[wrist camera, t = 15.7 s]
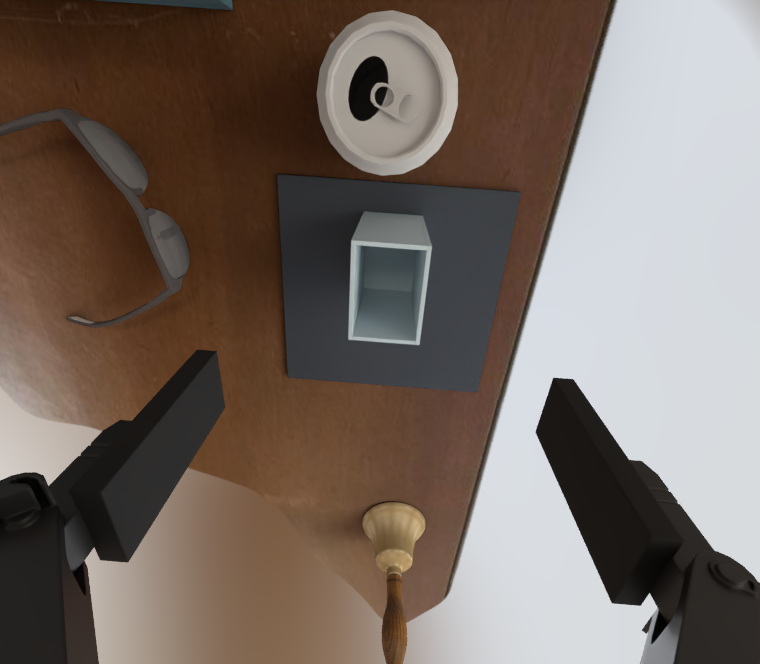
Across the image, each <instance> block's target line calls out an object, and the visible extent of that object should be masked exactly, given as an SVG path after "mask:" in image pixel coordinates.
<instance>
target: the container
mask: <svg viewBox="0 0 760 664" xmlns="http://www.w3.org/2000/svg"><path fill="white" fill-rule="evenodd" d="M431 250H432V245H431V242H430V238H429V235H428V232H427V228H426V225H425V221H424V218H423V216H421V215H408V214H394V213H381V212H367V211H364V213H363V215H362V217H361V219H360V222H359V224H358V226H357V228H356V231H355V233H354V235H353V237H352V240H351V261H350V293H349V326H348V340H359V341H372V342H385V343H398V344H411V345H419V344H420V336H421V329H422V321H423V313H424V305H425V297H426V289H427V281H428V274H429V266H430V258H431Z"/></svg>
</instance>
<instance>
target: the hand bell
mask: <svg viewBox="0 0 760 664" xmlns="http://www.w3.org/2000/svg"><path fill="white" fill-rule="evenodd" d="M362 525H363V529H364V531H365V533H366V535H367V536H368V537H369V538H370V539H371V540H372V542H373V544H374V549H375V559H376V564H377V566H378V567H379V568H380V569H381V570H382V571H384V572H387V607H386V610H385V614H384V618H383V625H382V645H383V651H384V655H385V659H386V663H387V664H403V660H404V656H405V652H406V646H407V628H406V620H405V615H404V612H403V608H402V603H401V583H402V578H401V573H402V572H404V571H406V570H408V569H409V568H410V566H411V565H412V560H413V549H414V545H415V542H416V540H418V539H419V538H420V536H421V535H422V533H423V532H424V529H425V519H424V517H423V515H422V514H421V512H420V511H419V510H417V509H416V508H414V507H412V506H411V505H408V504H404V503H400V502H386V503H382V504H378V505H376V506H374V507H372V508H371V509H370V510H369V511H367V512H366V514H365V515H364V517H363V521H362Z"/></svg>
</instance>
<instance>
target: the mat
mask: <svg viewBox="0 0 760 664" xmlns="http://www.w3.org/2000/svg"><path fill="white" fill-rule="evenodd" d="M277 184H278V202H279V221H280V240H281V259H282V278H283V297H284V316H285V334H286V353H287V372H288V378H300V379H313V380H325V381H338V382H351V383H364V384H376V385H389V386H402V387H415V388H428V389H440V390H453V391H466V392H477V391H478V386H479V382H480V377H481V372H482V368H483V363H484V359H485V354H486V350H487V345H488V341H489V336H490V331H491V327H492V322H493V318H494V313H495V309H496V304H497V300H498V295H499V290H500V286H501V281H502V277H503V272H504V268H505V263H506V258H507V254H508V249H509V245H510V240H511V236H512V231H513V227H514V222H515V217H516V213H517V208H518V204H519V199H520V195H521V192H518V191H504V190H491V189H477V188H464V187H450V186H436V185H423V184H409V183H396V182H382V181H369V180H355V179H342V178H328V177H314V176H301V175H287V174H277ZM364 211H367V212H381V213H394V214H408V215H421V216H423V218H424V221H425V225H426V228H427V232H428V235H429V238H430V242H431V245H432V250H431V258H430V266H429V274H428V281H427V289H426V297H425V305H424V313H423V321H422V329H421V336H420V344H419V345H411V344H398V343H385V342H372V341H359V340H348V326H349V293H350V261H351V240H352V237H353V235H354V233H355V231H356V228H357V226H358V224H359V222H360V219H361V217H362V215H363V213H364Z"/></svg>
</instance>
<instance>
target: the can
mask: <svg viewBox="0 0 760 664" xmlns="http://www.w3.org/2000/svg"><path fill="white" fill-rule="evenodd" d="M317 101H318V108H319V116H320V121H321V123H322V125H323V128H324V130H325V132H326V134H327V137H328V139H329V141H330V143H331V144H332V145H333V146H334V148H335V149H336V150H337V151H338V152H339V154H340V155H341V156H342V157H343V158H344V159H345V160H346V161H348V162H349V163H351V164H352V165H354V166H356V167H357V168H359V169H360V170H362V171H365V172H369V173H373V174H377V175H381V176H384V175H395V174H403V173H406V172H408V171H410V170H412V169H414V168H417V167H419V166H421V165H423V164H424V163H425V162H426V161H427V160H428V159H429V158H430V157H431V156H433V155H434V154H435V153H436V152H437V151H438V150H439V149H440V147H441V145H442V144H443V142H444V140H445V139H446V137H447V135H448V134H449V132H450V130H451V128H452V124H453V121H454V117H455V113H456V110H457V106H458V78H457V75H456V71H455V68H454V64H453V60H452V57H451V54H450V52H449V51H448V49H447V47H446V46H445V44H444V43H443V41H442V40H441V38H440V37H439V35H438V34H437V32H436V31H434V30H433V29H432V28H430V27H429V26H428V25H427V24H425V23H424V22H423V21H421V20H420V19H419V18H417V17H415V16H412V15H408V14H405V13H401V12H397V11H394V10H391V11H383V12H375V13H369V14H367V15H365V16H363V17H361V18H360V19H358V20H356V21H354V22H352V23H350V24H349V25H347V26H346V27H345V28H344V30H343V31H342V32H341V33H340V34H339V35H338V36H337V38H336V39H335V40H334V41H333V42H332V43H331V44H330V47H329V49H328V51H327V54H326V56H325V58H324V60H323V63H322V65H321V67H320V72H319V80H318V87H317Z"/></svg>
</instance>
